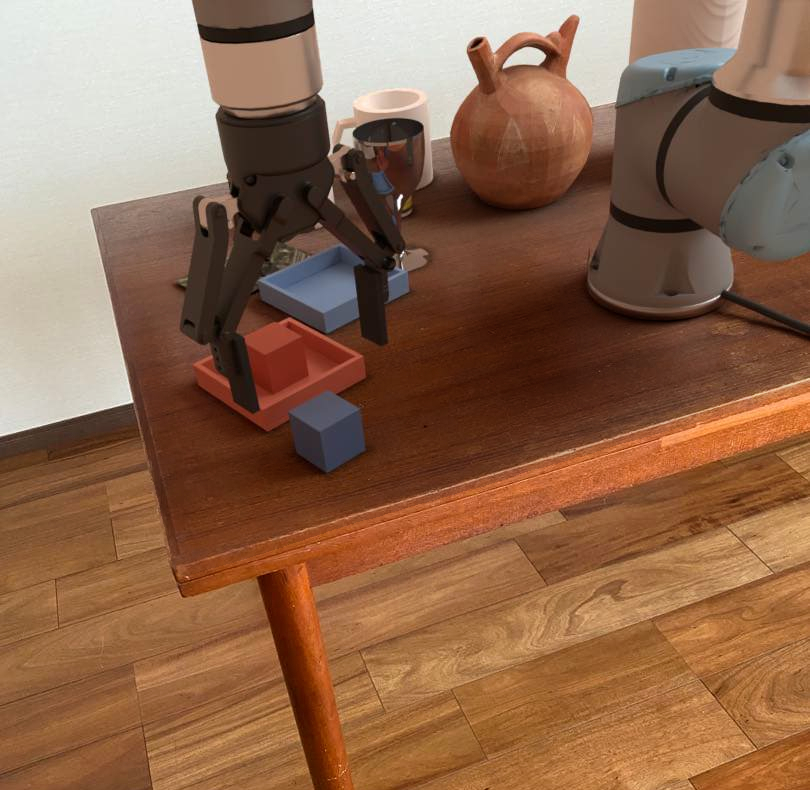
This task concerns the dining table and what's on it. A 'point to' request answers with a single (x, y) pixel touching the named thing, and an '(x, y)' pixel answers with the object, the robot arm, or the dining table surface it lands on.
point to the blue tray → (323, 288)
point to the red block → (276, 357)
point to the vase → (684, 25)
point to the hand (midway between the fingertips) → (313, 372)
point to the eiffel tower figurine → (274, 263)
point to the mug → (392, 106)
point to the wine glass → (395, 170)
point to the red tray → (326, 372)
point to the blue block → (327, 431)
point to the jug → (522, 123)
